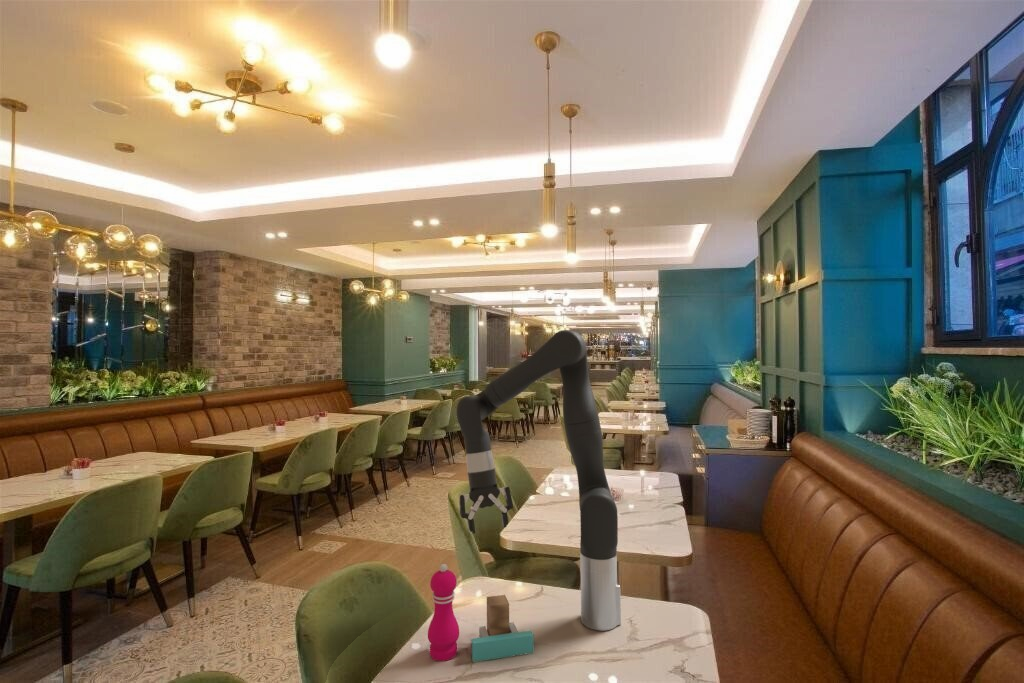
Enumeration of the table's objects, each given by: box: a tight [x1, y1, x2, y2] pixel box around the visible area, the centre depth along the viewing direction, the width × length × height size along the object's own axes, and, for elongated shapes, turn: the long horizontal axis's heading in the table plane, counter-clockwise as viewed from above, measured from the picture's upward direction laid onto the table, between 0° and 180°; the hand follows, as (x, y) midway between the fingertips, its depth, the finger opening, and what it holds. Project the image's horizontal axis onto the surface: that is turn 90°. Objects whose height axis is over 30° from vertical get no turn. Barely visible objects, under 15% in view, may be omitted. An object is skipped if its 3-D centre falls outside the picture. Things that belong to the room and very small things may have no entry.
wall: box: [471, 630, 535, 663], centre depth 112 cm, size 14×2×4 cm, turn 103°
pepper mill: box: [427, 563, 460, 662], centre depth 113 cm, size 7×7×20 cm
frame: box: [478, 621, 519, 638], centre depth 116 cm, size 8×6×3 cm
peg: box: [486, 594, 510, 636], centre depth 116 cm, size 4×4×10 cm
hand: (489, 529), depth 132 cm, fingers open, 8 cm apart
